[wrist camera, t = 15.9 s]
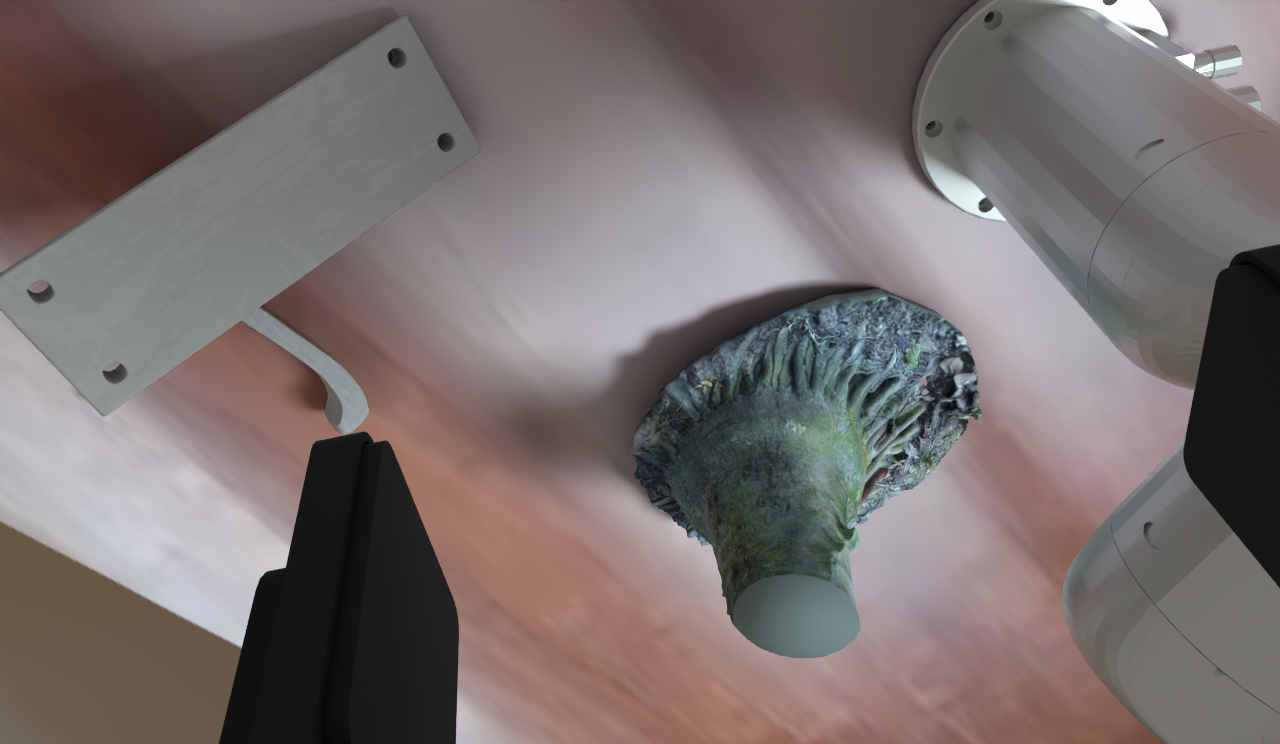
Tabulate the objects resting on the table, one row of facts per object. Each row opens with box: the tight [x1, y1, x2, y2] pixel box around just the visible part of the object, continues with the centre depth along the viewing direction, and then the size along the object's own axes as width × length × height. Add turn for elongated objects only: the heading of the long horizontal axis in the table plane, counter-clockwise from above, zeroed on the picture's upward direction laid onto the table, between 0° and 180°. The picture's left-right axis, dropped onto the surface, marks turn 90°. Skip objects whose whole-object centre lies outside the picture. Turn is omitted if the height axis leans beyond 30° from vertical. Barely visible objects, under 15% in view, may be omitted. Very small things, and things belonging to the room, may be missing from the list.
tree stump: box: [631, 288, 981, 658], centre depth 57 cm, size 18×20×18 cm
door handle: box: [0, 15, 481, 435], centre depth 50 cm, size 18×8×20 cm
